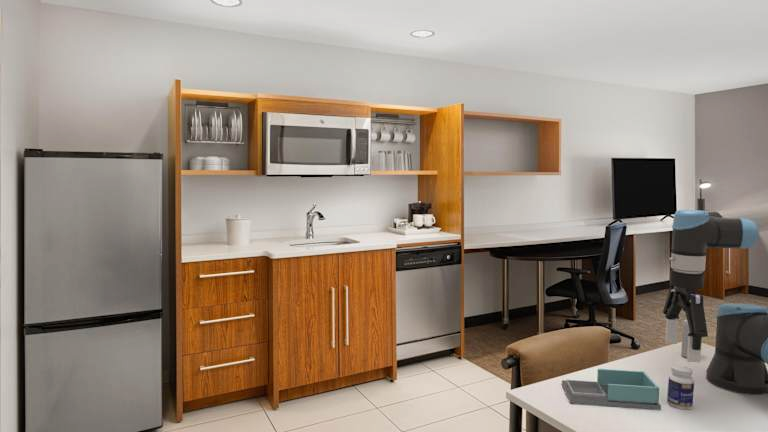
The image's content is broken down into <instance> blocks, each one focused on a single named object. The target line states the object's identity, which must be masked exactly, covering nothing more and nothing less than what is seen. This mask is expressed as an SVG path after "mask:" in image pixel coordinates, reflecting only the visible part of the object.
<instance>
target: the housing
mask: <svg viewBox="0 0 768 432" xmlns="http://www.w3.org/2000/svg"><path fill="white" fill-rule="evenodd" d="M596 382H598V383H600V384H608V398H607V399H608V400H620V401H634V402H648V403H659V404H660V402H659V401H660V387H659V386H658V385H657V383H656V382H655V381H654V380H653V379H652V378H651V377H650V375H648V374H647V372H645V371H643V370H642V371H641V370H640V371H639V370H626V369H624V370H623V369H611V368H610V369H607V368H606V369H605V368H597V380H596Z"/></svg>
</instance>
